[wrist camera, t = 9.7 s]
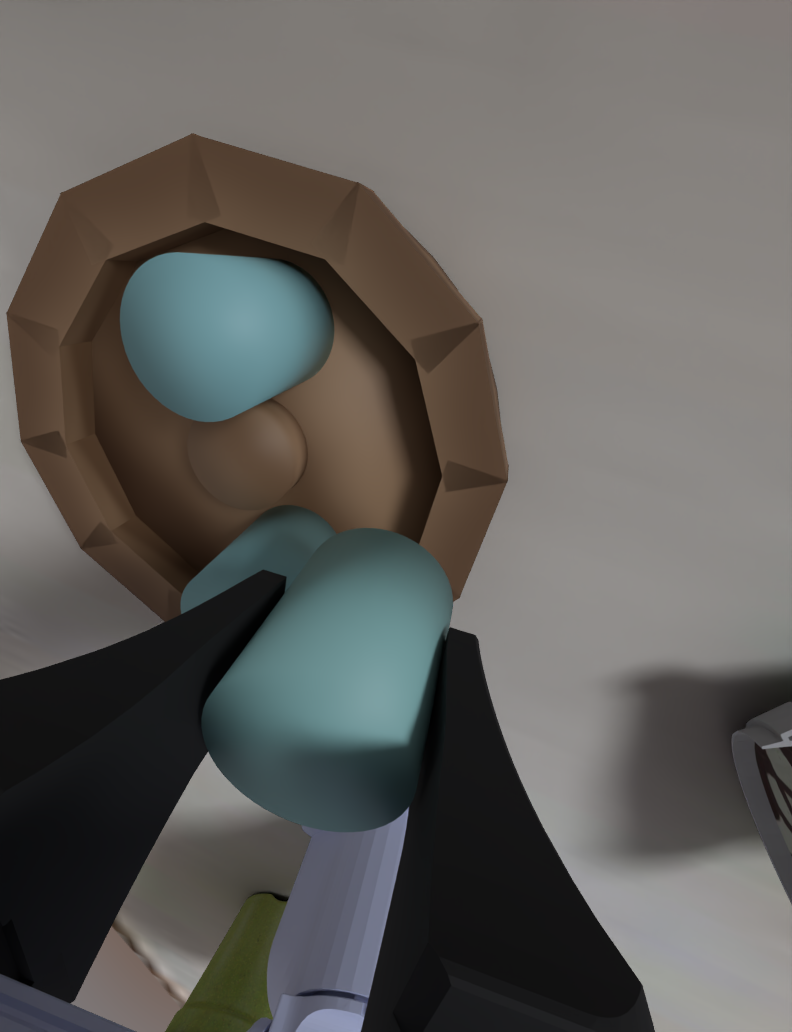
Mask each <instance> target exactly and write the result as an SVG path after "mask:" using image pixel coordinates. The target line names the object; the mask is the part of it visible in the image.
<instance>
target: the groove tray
mask: <svg viewBox="0 0 792 1032" xmlns="http://www.w3.org/2000/svg"><path fill="white" fill-rule="evenodd" d="M60 194H61V195H60V197H59V199H58V201H57V203H56V206H55V208H54V210H53V212H52V214H51V217H50V219H49V221H48V223H47V225H46V228H45V230H44V232H43V234H42V236H41V239H40V241H39V243H38V245H37V247H36V250H35V252H34V254H33V256H32V258H31V261H30V263H29V265H28V267H27V269H26V272H25V274H24V276H23V278H22V280H21V283H20V285H19V287H18V289H17V291H16V294H15V296H14V298H13V300H12V302H11V305H10V307H9V309H8V311H7V312H6V314H7V322H8V330H9V339H10V348H11V357H12V366H13V375H14V384H15V393H16V402H17V411H18V420H19V429H20V437H21V442H22V444H23V446H24V447H25V449H26V451H27V453H28V455H29V456H30V458H31V460H32V462H33V464H34V465H35V467H36V469H37V471H38V473H39V474H40V476H41V478H42V480H43V481H44V483H45V485H46V487H47V489H48V490H49V492H50V494H51V496H52V498H53V499H54V501H55V503H56V505H57V507H58V508H59V510H60V512H61V514H62V515H63V517H64V519H65V521H66V523H67V524H68V526H69V528H70V530H71V532H72V533H73V535H74V537H75V539H76V541H77V542H78V544H79V546H80V548H81V549H82V550H83V551H85V552H86V553H87V554H88V555H89V556H90V557H91V558H93V559H94V560H95V561H96V562H97V563H98V564H99V565H101V566H102V567H103V568H104V569H105V570H106V571H107V572H109V573H110V574H111V575H112V576H113V577H114V578H115V579H117V580H118V581H119V582H120V583H121V584H122V585H124V586H125V587H126V588H127V589H128V590H129V591H130V592H132V593H133V594H134V595H135V596H136V597H137V598H138V599H140V600H141V601H142V602H143V603H144V604H145V605H146V606H148V607H149V608H150V609H151V610H152V611H153V612H155V613H156V614H157V615H158V616H159V617H160V618H161V619H163V620H164V621H165V622H166V621H168V620H170V619H172V618H175V617H177V616H179V615H181V597H182V593H183V591H184V589H185V587H186V586H187V584H188V583H189V582H190V581H191V580H192V579H193V578H194V577H195V576H196V575H197V574H199V573H200V572H201V571H202V570H203V569H204V568H205V567H206V566H207V565H208V564H209V563H210V562H211V561H212V560H214V559H215V558H216V557H217V556H218V555H219V554H220V553H221V552H222V551H223V550H224V549H225V548H226V547H228V546H229V545H230V544H231V543H232V542H233V541H234V540H235V539H236V538H237V537H238V536H239V535H240V534H242V533H243V532H244V531H245V530H246V529H247V528H248V527H249V526H250V525H251V524H252V523H253V522H254V521H255V520H257V519H258V518H259V517H260V516H261V515H262V514H263V513H264V512H266V511H267V510H269V509H271V508H274V507H277V506H281V505H294V506H300V507H303V508H306V509H308V510H311V511H313V512H314V513H316V514H318V515H319V516H321V517H322V518H323V519H324V520H325V521H327V522H328V523H329V525H330V526H331V527H332V528H333V530H334V531H335V532H336V534H338V533H341V532H344V531H347V530H351V529H357V528H377V529H384V530H388V531H392V532H395V533H398V534H400V535H403V536H405V537H407V538H409V539H411V540H413V541H415V542H416V543H418V544H419V545H420V546H422V547H423V548H425V549H426V550H427V551H428V552H429V553H430V554H431V555H432V556H433V557H434V558H435V559H436V560H437V561H438V563H439V564H440V566H441V567H442V568H443V570H444V572H445V574H446V576H447V578H448V580H449V583H450V586H451V589H452V595H453V602H454V601H455V600H457V599H458V598H460V595H461V592H462V590H463V588H464V585H465V583H466V580H467V578H468V575H469V573H470V571H471V568H472V566H473V563H474V561H475V558H476V556H477V554H478V551H479V549H480V546H481V544H482V541H483V539H484V537H485V534H486V532H487V529H488V527H489V524H490V522H491V520H492V517H493V515H494V512H495V510H496V508H497V505H498V503H499V500H500V498H501V495H502V493H503V491H504V488H505V486H506V483H507V481H508V467H509V465H508V461H507V456H506V450H505V445H504V439H503V433H502V428H501V421H500V412H499V403H498V393H497V388H496V384H495V379H494V375H493V371H492V367H491V363H490V359H489V355H488V349H487V343H486V338H485V332H484V327H483V320H482V318H481V317H480V316H479V315H478V314H477V313H476V312H475V310H474V309H473V308H472V307H471V306H470V305H469V303H468V302H467V301H466V300H465V299H464V298H463V296H462V295H461V294H460V293H459V292H458V290H457V288H456V287H455V285H454V284H453V283H452V281H451V280H450V279H449V277H448V276H447V275H446V273H445V272H444V271H443V269H442V268H441V267H440V265H439V264H438V263H437V261H436V260H435V259H434V257H433V256H432V255H431V254H430V253H429V252H428V251H427V250H426V249H425V248H424V247H423V246H422V245H421V244H420V243H419V242H418V241H417V240H416V239H415V238H414V237H413V236H412V235H411V234H410V233H409V232H408V231H407V230H406V229H405V228H404V227H403V226H402V225H401V224H400V222H399V221H398V220H397V219H396V218H395V217H394V215H393V214H392V213H391V212H390V211H389V209H388V208H387V207H386V206H385V205H384V204H383V202H382V201H381V200H380V199H379V198H378V197H377V195H376V194H375V193H374V191H372V190H371V189H369V188H367V187H366V186H364V185H362V184H360V183H358V182H353V181H350V180H347V179H343V178H340V177H336V176H333V175H330V174H326V173H323V172H320V171H316V170H313V169H309V168H306V167H303V166H299V165H296V164H293V163H289V162H286V161H282V160H279V159H276V158H272V157H269V156H265V155H262V154H259V153H255V152H252V151H249V150H245V149H242V148H238V147H235V146H232V145H228V144H225V143H222V142H218V141H215V140H211V139H208V138H205V137H201V136H198V135H196V134H194V133H193V134H191V135H189V136H186V137H184V138H182V139H180V140H177V141H175V142H173V143H171V144H169V145H166V146H164V147H162V148H160V149H158V150H155V151H153V152H151V153H149V154H147V155H144V156H142V157H140V158H138V159H135V160H133V161H131V162H129V163H127V164H124V165H122V166H120V167H118V168H116V169H113V170H111V171H109V172H107V173H105V174H102V175H100V176H98V177H96V178H93V179H91V180H89V181H87V182H85V183H82V184H80V185H78V186H76V187H74V188H71V189H69V190H67V191H65V192H61V193H60ZM173 252H182V253H197V254H213V255H228V256H244V257H259V258H274V259H282V260H286V261H289V262H292V263H294V264H296V265H298V266H300V267H301V268H303V269H304V270H305V271H307V272H308V273H309V274H310V275H311V276H312V277H313V278H314V279H315V280H316V281H317V282H318V284H319V285H320V286H321V288H322V289H323V291H324V293H325V295H326V297H327V299H328V301H329V304H330V306H331V309H332V314H333V318H334V341H333V346H332V350H331V352H330V355H329V357H328V359H327V361H326V363H325V364H324V366H323V367H322V368H321V370H320V371H319V372H318V373H317V374H316V375H314V376H313V377H311V378H310V379H308V380H306V381H304V382H302V383H300V384H298V385H296V386H294V387H292V388H290V389H288V390H286V391H284V392H282V393H280V394H278V395H276V396H274V397H272V398H270V399H268V400H266V401H264V402H262V403H260V404H258V405H256V406H254V407H252V408H250V409H248V410H246V411H244V412H242V413H240V414H238V415H236V416H234V417H232V418H229V419H226V420H223V421H217V422H202V421H196V420H192V419H188V418H186V417H183V416H181V415H178V414H177V413H175V412H173V411H171V410H170V409H168V408H167V407H165V406H164V405H162V404H161V403H160V402H159V401H158V400H157V399H156V398H154V397H153V396H152V394H151V393H150V392H149V391H148V390H147V389H146V388H145V386H144V385H143V384H142V383H141V381H140V380H139V378H138V377H137V375H136V373H135V372H134V370H133V368H132V366H131V364H130V362H129V360H128V357H127V354H126V352H125V348H124V345H123V341H122V336H121V330H120V308H121V302H122V297H123V294H124V291H125V288H126V286H127V284H128V282H129V280H130V278H131V277H132V276H133V274H134V273H135V271H136V270H137V269H138V268H139V267H140V266H141V265H142V264H144V263H145V262H147V261H148V260H150V259H152V258H154V257H156V256H158V255H162V254H165V253H173Z"/></svg>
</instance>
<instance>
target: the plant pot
mask: <svg viewBox="0 0 792 1032" xmlns="http://www.w3.org/2000/svg"><path fill="white" fill-rule="evenodd" d="M287 902H288V901H285V902H284V901H279V900H277V899H276V898H274V896H273V895H272V894H256V895H253V896H251V897H249V898H248V899H247V900H246V902H245V903H244V905H243V907H242V908H241V910H240V912H239V913H238V915H237V917H236V919H235V920H234V922H233V924H232V925H231V927H230V929H229V931H228V932H227V934H226V936H225V937H224V939H223V941H222V943H221V944H220V946H219V948H218V949H217V951H216V953H215V955H214V956H213V958H212V960H211V961H210V963H209V965H208V966H207V968H206V970H205V971H204V973H203V975H202V977H201V978H200V980H199V982H198V983H197V985H196V986H195V988H194V990H193V991H192V993H191V995H190V997H189V998H188V1000H187V1002H186V1003H185V1005H184V1007H183V1008H182V1009H180V1010H179V1011H178V1012H177V1013H176V1015H175V1016H174V1018H173V1019H172V1021H171V1023H170V1024H169V1026H168V1028H167V1030H166V1031H165V1032H246V1031H248V1030H249V1029H250V1028H251V1027H252V1025H253V1024H254V1023H255V1022H256V1021H257V1020H259V1019H260V1018H266V1017H267V1018H269V1019H271V1020H273V1016H272V1013H271V1010H270V1007H269V1002H268V994H267V967H268V960H269V954H270V950H271V946H272V943H273V940H274V937H275V934H276V931H277V929H278V926H279V923H280V921H281V918H282V915H283V913H284V910H285V907H286V904H287Z"/></svg>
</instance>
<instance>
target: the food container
mask: <svg viewBox="0 0 792 1032" xmlns="http://www.w3.org/2000/svg"><path fill="white" fill-rule="evenodd" d="M731 745H732V754H733V759H734V763H735V767H736V771H737V774H738V778H739V781H740V784H741V787H742V790H743V793H744V796H745V798H746V801H747V804H748V807H749V809H750V812H751V814H752V817H753V819H754V822H755V824H756V827H757V829H758V832H759V834H760V836H761V839H762V841H763V843H764V846H765V848H766V850H767V853H768V855H769V857H770V859H771V862H772V864H773V866H774V868H775V870H776V872H777V875H778V877H779V879H780V881H781V883H782V885H783V887H784V889H785V892H786V894H787V896H788V898H789V900H790V902H791V904H792V702H787V703H785V704H783V705H780V706H778V707H776V708H774V709H772V710H770V711H768V712H765V713H763V714H761V715H759V716H757V717H755V718H753V719H751V720H749V721H748V722H747V724H746V727H745V729H742V730H738V731H736V732H735V733H733V735H732V739H731Z"/></svg>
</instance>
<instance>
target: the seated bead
mask: <svg viewBox="0 0 792 1032" xmlns="http://www.w3.org/2000/svg"><path fill="white" fill-rule="evenodd" d="M334 535H336V532H335V531H334V530H333V528H332V527H331V526H330V525H329V523H328V522H327V521H325V520H324V519H323V518H322V517H321V516H319V515H318V514H316V513H314V512H313V511H311V510H308V509H306V508H303V507H300V506H294V505H281V506H277V507H274V508H271V509H269V510H267V511H266V512H264V513H263V514H262V515H261V516H260V517H259V518H258V519H257V520H255V521H254V522H253V523H252V524H251V525H250V526H249V527H248V528H247V529H246V530H245V531H244V532H243V533H242V534H240V535H239V536H238V537H237V538H236V539H235V540H234V541H233V542H232V543H231V544H230V545H229V546H228V547H226V548H225V549H224V550H223V551H222V552H221V553H220V554H219V555H218V556H217V557H216V558H215V559H214V560H212V561H211V562H210V563H209V564H208V565H207V566H206V567H205V568H204V569H203V570H202V571H201V572H200V573H199V574H197V575H196V576H195V577H194V578H193V579H192V580H191V581H190V582H189V583H188V584H187V586H186V587H185V589H184V591H183V593H182V597H181V614H183V613H185V612H187V611H189V610H191V609H192V608H194V607H196V606H198V605H200V604H202V603H204V602H205V601H207V600H209V599H211V598H213V597H215V596H217V595H218V594H220V593H222V592H224V591H225V590H227V589H229V588H231V587H232V586H234V585H236V584H238V583H240V582H241V581H243V580H245V579H247V578H248V577H250V576H252V575H254V574H256V573H257V572H259V571H261V570H263V569H264V570H267V571H270V572H273V573H277V574H280V575H283V576H286V577H287V579H286V587H285V592H286V591H287V589H288V588H289V587H290V585H291V584H292V582H293V581H294V580H295V578H296V577H297V576H298V574H299V573H300V572H301V570H302V569H303V567H304V566H305V565H306V563H307V562H308V561H309V559H310V558H311V557H312V555H313V554H314V552H315V551H316V550H317V548H318V547H319V546H320V545H321V544H322V543H324V542H325V541H326V540H328V539H329V538H330V537H332V536H334Z"/></svg>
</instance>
